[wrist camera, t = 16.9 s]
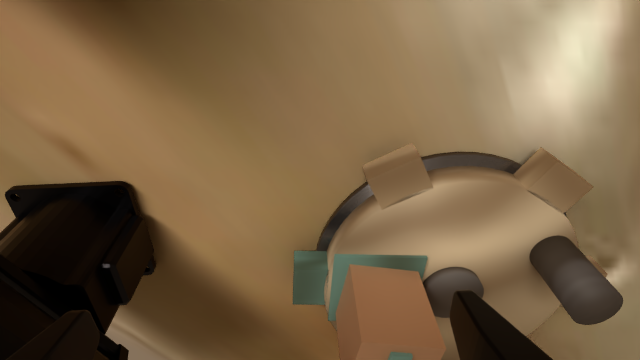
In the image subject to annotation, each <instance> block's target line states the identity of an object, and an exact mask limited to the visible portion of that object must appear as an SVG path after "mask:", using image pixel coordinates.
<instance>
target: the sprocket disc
mask: <svg viewBox="0 0 640 360" xmlns="http://www.w3.org/2000/svg"><path fill="white" fill-rule="evenodd" d="M363 169H364V172H365V176H366V179H367V182H368V184H369V186H370V188H371V189H372V191H373V193H374V194H373V195H372V196H370V197H369V198H367V199H366V200H365V201H364V202H363V203H361V204H360V205H359V206H358V207H357V208H355V209H354V210H353V211H352V213H351V214H350V215H349V216H348V217H347V218H346V219H345V220H344V221H343V223H342V224H341V225H340V227H339V228H338V230H337V231H336V232H335V234H334V236H333V238H332V240H331V242H330V244H329V246H328V249H327V251H294V276H293V304H307V305H325V306H326V311H327V314H328V321H331V323H332V325H333V326H334V328H335V329H336V331H337V323H336V310H337V307H338V303H339V300H340V296H341V293H342V289H343V286H344V282H345V279H346V275H347V272H348V268H349V265H350V264H353V265H362V266H371V267H381V268H390V269H399V270H409V271H418V272H419V275H420V278H421V280H422V283H423V286H424V289H425V291H426V294H427V297H428V300H429V303H430V305H431V308H432V311H433V314H434V316H435V319H436V322H437V325H438V327H439V330H440V333H441V336H442V338H443V341H444V344H445V347H446V351H445V352H444V354H443V356H442V358H441V360H460V358H459V354H458V350H457V346H456V342H455V339H454V335H453V331H452V327H451V323H450V316H449V314H450V308H451V303H452V298H453V294H454V292H455V291H457V290H472V291H474V292H475V293H476V294H477V295H478V296H480V297H481V298H482V299H483V300H484V301H485V302H487V303H488V304H489V305H490V306H491V307H492V308H494V309H495V310H496V311H497V312H498V313H499V314H501V315H502V316H503V317H504V318H505V319H506V320H507V321H509V322H510V323H511V324H512V325H513V326H514V327H516V328H517V329H518V330H519V331H520V332H521V333H523V334H524V335H525V336H527V335H529V334H530V333H532V332H533V331H534V330H535V329H537V328H538V327H539V326H540V325H542V324H543V323H544V322H545V321H546V320H547V319H548V318H549V317H550V316H551V315H552V314H553V313H554V312H555V311H556V309H557V308H558V307H564V308H565V310H566V311H567V312H568V314H569V315H570V316H571V318H572V319H573V320H574V321H575V322H576V323H579V324H583V325H591V324H597V323H600V322H603V321H605V320H607V319H609V318H610V317H612V316H613V315H615V314H616V313H617V312H618V311H619V309H620V308H621V306H622V304H623V298H622V296H621V294H620V293H619V292H618V291H617V290H616V289H615V288H614V287H613V286H612V285H611V284H610V282H609V281H608V280H607V279H606V278H605V277H606V276H607V273H606V272H605V271H604V270H603V269H602V268H601V266H600V265H599V264H598V263H597V262H596V261H595V260H594V259H593V258H592V257H591V256H585V255H584V254H583V253H582V252H581V251H580V250H579V248H578V241H577V238H576V234H575V231H574V229H573V227H572V225H571V224H570V222H569V220H568V219H567V217H566V216H565V215H564V214H563V213H564V212H566V211H567V210H568V209H569V208H570V207H571V206H573V205H574V204H575V203H576V202H577V201H578V200H579V199H581V198H582V197H583V196H584V195H585V194H586V193H587V192H589V191H590V190H591V189H592V188H593V186H592V185H591V184H589V183H588V182H587V181H586V180H585V179H583V178H582V177H581V176H580V175H578V174H577V173H576V172H575V171H573V170H572V169H571V168H569V167H568V166H566V165H565V164H564V163H562V162H561V161H560V160H558V159H557V158H555V157H554V156H553V155H551V154H550V153H549V152H547V151H546V150H544V149H543V148H542V147H541V148H540V149H539V150H538V151H537V152H536V153H535V154H534V155H533V156H532V157H531V158H529V159H528V160H527V161H526V162H525V163H524V164H523V165H522V166H521V167H520V168H519V169H518V170H517V171H516V172H515V173H514V174H511V173H508V172H506V171H501V170H497V169H493V168H487V167H476V166H454V167H446V168H439V169H433V170H429V171H426V169H425V166H424V164H423V161H422V159H421V157H420V155H419V153H418V151H417V150H416V148H415V146H414V144H413V143H410V144H408V145H406V146H403V147H401V148H399V149H397V150H395V151H392V152H390V153H388V154H386V155H383V156H381V157H379V158H377V159H375V160H372V161H370V162H368V163H366V164H364V165H363Z"/></svg>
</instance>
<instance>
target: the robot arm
mask: <svg viewBox="0 0 640 360" xmlns="http://www.w3.org/2000/svg"><path fill="white" fill-rule="evenodd" d="M118 189H121V190H123V192H124V193H121V192H119V191H118ZM16 194H17V195H19V197H18V196H16ZM5 197H6V199H7V201H8V203H9V205H10V207H11V209H12V211H13V213H14V215H15V217H16V218H15V219H14V220H13V221H12V222H11V223H10V224H9V225H8V226H7V227H6V228H5V229H4V230H3V231H2V232H1V233H0V360H128V352H129V351H128V350H127V349H126V348H125V347H124V346H122V345H121V344H118V345H117V344H116V343H115V342H114V341H112V340H111V339H110V338H108V337H107V336H106V335H105V333H106V332H107V330H108V328H109V326H110V324H111V322H112V320H113V318H114V316H115V314H116V312H117V310H118V308H119V306H120V305H127V303H128V302H129V301H130V300H131V298H132V296H133V294H134V292H135V290H136V288H137V286H138V284H139V282H140V280H141V277H142V275H151V274H152V273H153V272H154V270H155V268H156V263H155V260H154V256H153V253H154V248H153V245H152V242H151V239H150V236H149V232H148V229H147V226H146V223H145V220H144V218H143V217H142V216H141V215H140V213H139V210H138V207H137V204H136V201H135V198H134V195H133V192H132V188H131V187H130V185H129V184H127V183H126V182H123V181H110V182H88V183H66V184H44V185H22V186H13V187H12V188H10V189H9V190H8V191H7V192H6V193H5ZM148 267H149V268H148ZM449 316H450V323H451V327H452V331H453V335H454V339H455V342H456V346H457V350H458V354H459V358H460V360H553V359H552V358H550V357H549V356H548V355H547V354H546V353H545V352H543V351H542V350H541V349H540V348H539V347H538V346H536V345H535V344H534V343H533V342H532V341H531V340H530V339H528V338H527V337H526V336H525V335H524V334H523V333H521V332H520V331H519V330H518V329H517V328H516V327H514V326H513V325H512V324H511V323H510V322H509V321H507V320H506V319H505V318H504V317H503V316H502V315H501V314H499V313H498V312H497V311H496V310H495V309H494V308H492V307H491V306H490V305H489V304H488V303H487V302H485V301H484V300H483V299H482V298H481V297H480V296H478V295H477V294H476V293H475V292H474V291H472V290H457V291H455V292H454V294H453V298H452V303H451V308H450V314H449Z"/></svg>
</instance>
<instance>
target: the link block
mask: <svg viewBox="0 0 640 360" xmlns="http://www.w3.org/2000/svg"><path fill="white" fill-rule="evenodd" d="M336 323H337V334H338V344H339V355H340V360H441V358H442V356H443V354H444V352H445V351H446V347H445V344H444V341H443V338H442V336H441V333H440V330H439V327H438V325H437V322H436V319H435V316H434V314H433V311H432V308H431V305H430V303H429V300H428V297H427V294H426V291H425V289H424V286H423V283H422V280H421V278H420V275H419V272H418V271H409V270H399V269H390V268H381V267H371V266H362V265H353V264H350V265H349V268H348V272H347V275H346V279H345V282H344V286H343V289H342V293H341V296H340V300H339V303H338V307H337V310H336Z"/></svg>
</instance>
